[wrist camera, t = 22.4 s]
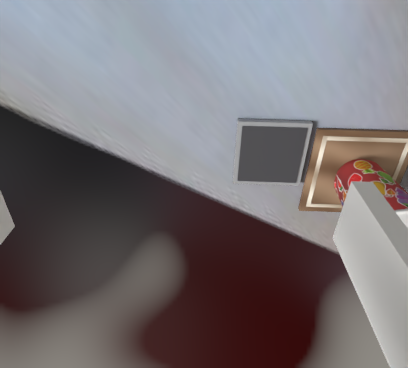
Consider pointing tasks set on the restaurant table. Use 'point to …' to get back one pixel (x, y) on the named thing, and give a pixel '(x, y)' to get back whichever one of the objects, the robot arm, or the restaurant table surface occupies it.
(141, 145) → the restaurant table surface
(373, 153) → the board
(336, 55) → the restaurant table surface
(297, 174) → the ink pad
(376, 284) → the robot arm
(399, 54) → the restaurant table surface
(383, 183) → the smoothie
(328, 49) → the restaurant table surface
